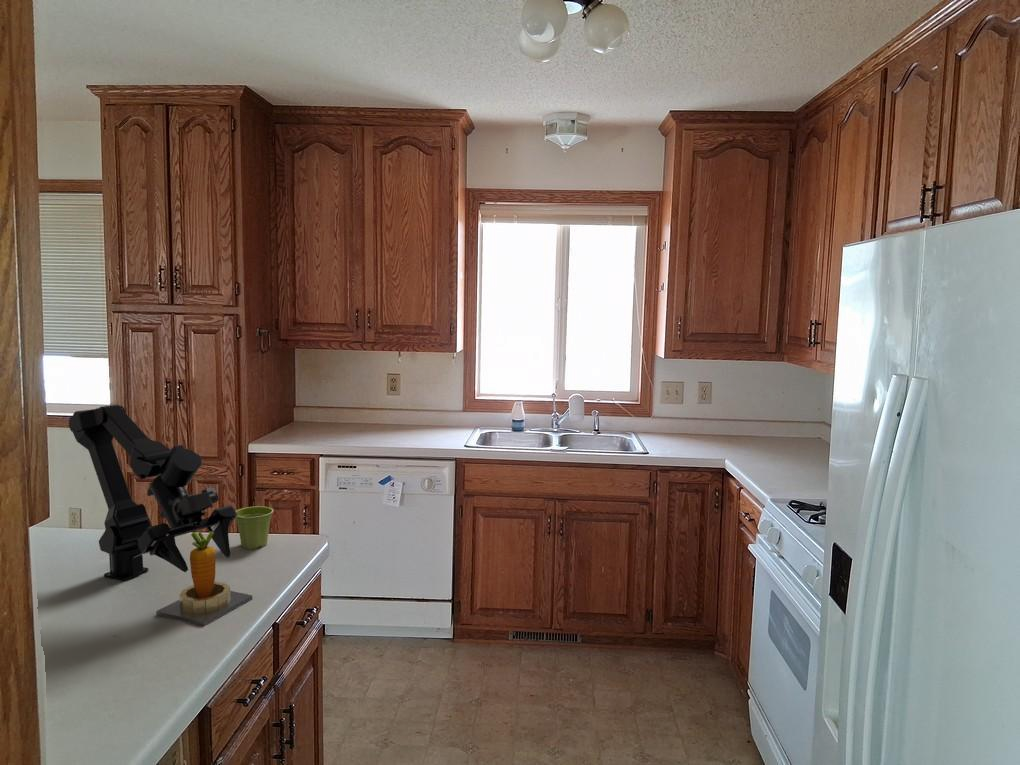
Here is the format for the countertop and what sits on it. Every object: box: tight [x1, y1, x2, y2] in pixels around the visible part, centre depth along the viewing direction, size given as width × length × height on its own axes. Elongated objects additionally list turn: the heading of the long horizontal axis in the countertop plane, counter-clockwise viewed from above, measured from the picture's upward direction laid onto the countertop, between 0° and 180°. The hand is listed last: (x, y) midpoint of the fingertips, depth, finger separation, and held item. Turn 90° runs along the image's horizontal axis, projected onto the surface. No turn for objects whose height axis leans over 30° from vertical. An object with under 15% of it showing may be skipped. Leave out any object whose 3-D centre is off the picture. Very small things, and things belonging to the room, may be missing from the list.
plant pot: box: [235, 506, 274, 549], centre depth 174 cm, size 9×9×9 cm
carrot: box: [189, 531, 216, 598], centre depth 138 cm, size 5×5×15 cm
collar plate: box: [155, 581, 253, 627], centre depth 139 cm, size 12×13×3 cm
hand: (208, 563), depth 137 cm, fingers open, 9 cm apart
